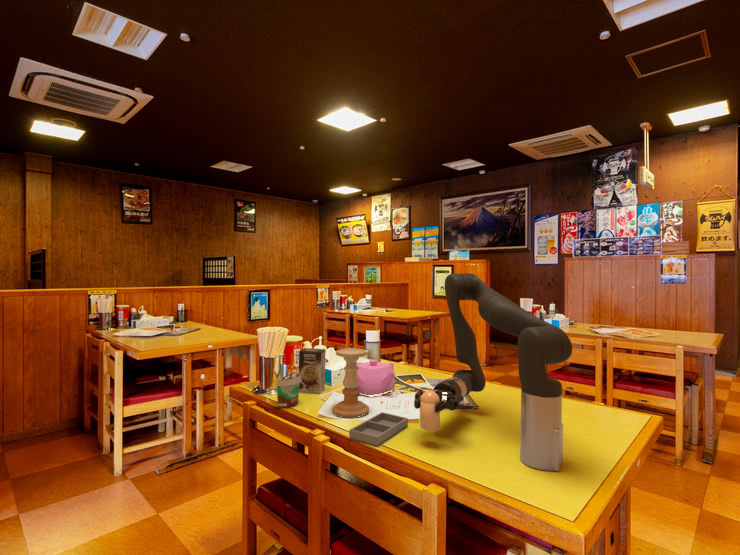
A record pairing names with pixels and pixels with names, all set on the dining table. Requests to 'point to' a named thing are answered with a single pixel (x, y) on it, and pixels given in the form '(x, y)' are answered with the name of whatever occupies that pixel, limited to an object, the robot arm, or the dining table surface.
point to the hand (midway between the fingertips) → (426, 406)
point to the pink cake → (375, 377)
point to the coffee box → (312, 370)
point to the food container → (288, 390)
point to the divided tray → (378, 429)
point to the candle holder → (350, 385)
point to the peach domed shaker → (429, 411)
